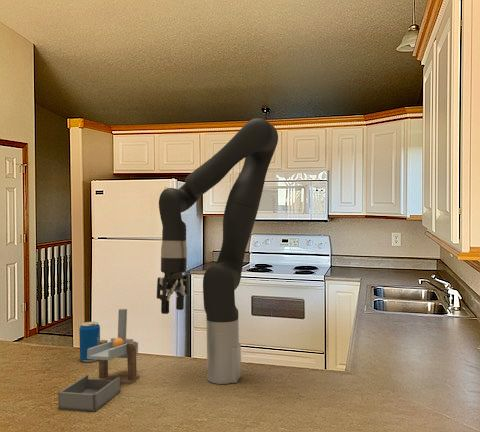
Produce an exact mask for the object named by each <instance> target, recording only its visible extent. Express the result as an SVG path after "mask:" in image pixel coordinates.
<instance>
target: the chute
mask: <svg viewBox="0 0 480 432" xmlns="http://www.w3.org/2000/svg"><path fill="white" fill-rule="evenodd" d="M117 319H118V320H117V337H116V338H122V339H123V341H124V345H121V346H118V347H116V348H114V347H113V341H114V340H115V339H116V338H115V337H112V338H110V341H107V343H104V344H101V345H98V346H95V347H92V348H89V349H87V359H98V360H97V361H99V360H108V361H112V360H114V359H116V358H117V359H127V343H129V342H130V341H134V339H133V338H127V325H128V324H127V322H128V321H127V320H128V309H127V308H120V309H119V308H118V318H117ZM136 344H137V348H136V357H138V356H139V341H136Z"/></svg>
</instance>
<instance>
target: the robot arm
mask: <svg viewBox="0 0 480 432" xmlns="http://www.w3.org/2000/svg"><path fill="white" fill-rule="evenodd" d="M278 142H279V134H278V131H277V129H276V127H275V126H274V125H273V124H272V123H271V122H269V121H268V120H266V119H265V118H258V117H256V118H252V119H250V120H249V121H247V122H246V123H245V124H244V125H243V126H242V127H241V128H240V129H239V130H238V131H237V132H236V134H234V136H233V137H232V138H231V139H229V141H228V142H227V143H226V144H225V145H224V146H223V147H222V148H220V150H218V151H217V152H216V153H215V154H214V155H213V156H211V157H210V158H208V160H206V161H205V162H204V163H203V164H201V165H200V166H198V167H197V168H196V169H194V170H193V171H192V172H191V173H190V174H188V175H187V176H186V177H185V179H184V184H183V185H181V187H179V188H174V187H167V188H165V189H164V190H162V191H161V193H160V195H159V199H158V210H159V215H160V221H161V224H162V230H161V231H162V233H161V235H162V237H161V245H160V246H161V248H160V272H161V273H163V274H164V276H163V277H161V276H160V277H157V282H156V283H157V284H156V299H159V300H160V301H161V303H160V305H161V306H160V308H161V309H160V310H161V311H160V312H161V314H163V315H168V314H170V298H171V297H172V295H173V294H174V293H175V294H176V300H175V309H176V310H178V311H182V310H184V309H185V308H184V307H185V306H184V305H185V302H184V301H185V300H184V299H185V297H186V295H189V275H188V274H185V273H186V272H187V265H188V263H187V261H188V260H187V257H188V253H187V252H188V247H187V224H186V223H185V222H184V221H183V220H182V219H183V218H182V213H183V212H186V211H188V210H189V209H190V208H192V207H193V205H194V204H195V203H196V202H197V201H198V200H199V199H200V198H201V196H203V195H204V194H206V193H207V192H208V191H210V190H211V189H212V188H214V187H215V186H217V185H218V184H219V183H220V182H221V181H222V180H223V179H225V177H226V175H227V174H228V173H229V172H230V171H231V170H232V169H233V168H234V167H235V166H236V165H237V164H238V163H239V162H241V161H242V160H243V159H244V162H243V166H242V168H241V170H240V173H239V175H238V176H237V178H236V180H235V182H234V184H233V185H232V188H231V189H230V192H229V193H228V196H227V200H226V204H225V208H224V211H223V217H222V218H223V219H222V243H221V247H220V251H219V254H218V257H217V260H216V263H215V264H213V265H212V266H209V267H208V268H207V269H206V270H205V272H204V274H203V277H202V294H203V295H202V296H203V299H202V300H203V308H204V312H205V314H206V315H205V316H206V318H205V319H206V366H207V367H206V370H207V371H206V374H207V375H206V376H207V378H206V379H207V381H208V382H210V383H213V384H217V385H218V384H219V385H226V384H235V383H236V384H237V383H238V382H239V380H240V378H241V377H242V351H241V350H242V347H241V345H242V344H241V343H240V339H239V337H240V334H239V331H240V330H239V329H240V328H239V309H238V308H237V306H236V300H235V299H236V298H235V297H236V296H235V290H237V289H238V287H239V286H240V284H241V283H240V282H241V279H242V271H243V265H244V260H245V254H246V250H247V246H248V244H249V241H250V238H251V235H252V232H253V229H254V226H255V222H256V220H257V215H258V211H259V208H260V202H261V199H262V195H263V190H264V186H265V182H266V181H265V180H266V178H267V177H266V176H267V173H268V170H269V167H270V164H271V161H272V159H273V156H274V153H275V152H276V148H277V146H278V144H279V143H278ZM183 273H184V274H183Z"/></svg>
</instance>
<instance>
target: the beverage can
mask: <svg viewBox="0 0 480 432" xmlns="http://www.w3.org/2000/svg"><path fill="white" fill-rule="evenodd" d="M100 341H101V326H100V324H99V322H98V321H86V322H82V323H80V326H79V360H80V361H82V362H83V363H92V362H96V361H99V360H98V359H87V349H89V348H92V347H95V346H98V342H100Z"/></svg>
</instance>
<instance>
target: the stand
mask: <svg viewBox="0 0 480 432" xmlns="http://www.w3.org/2000/svg"><path fill="white" fill-rule="evenodd" d="M107 342H108V340H106V339H100V342H98V345H101V344H104V343H107ZM136 342H137V341H136V340H135V341H134V340H133V341H130V342H129V343H127V358H126V361H127V374H114V373H109V360H98V377H97V379H100V380H114V379H116V378H117V377H120V384H127V385H128V384H129V385H133V384H134V383H135V382H136V381H137V380H138V379H140V376H139V375H137V356H136V348H137V344H136Z"/></svg>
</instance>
